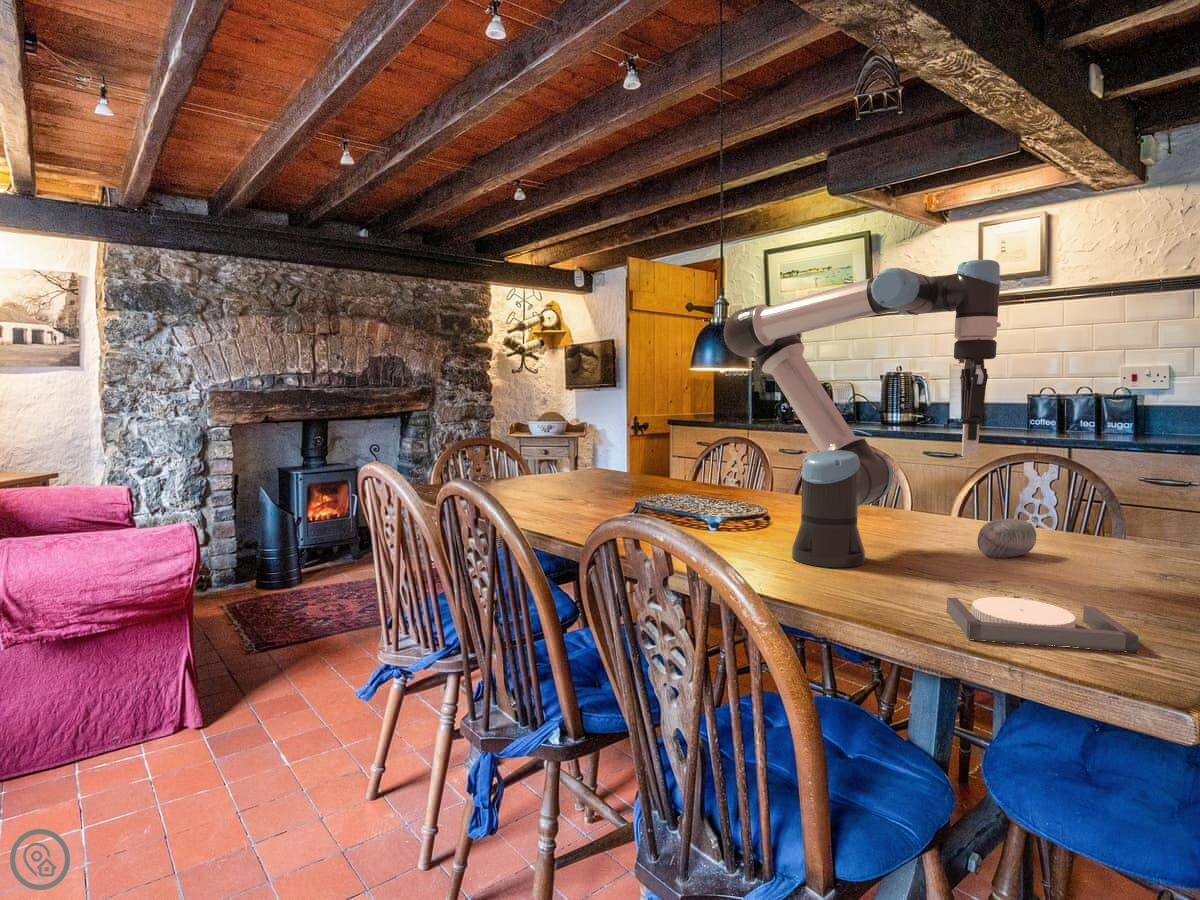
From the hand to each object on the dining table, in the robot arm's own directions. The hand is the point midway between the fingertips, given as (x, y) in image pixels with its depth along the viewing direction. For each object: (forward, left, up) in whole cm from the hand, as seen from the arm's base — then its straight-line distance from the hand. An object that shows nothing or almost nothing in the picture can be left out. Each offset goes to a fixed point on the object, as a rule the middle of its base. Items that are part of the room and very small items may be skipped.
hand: (969, 456), depth 142 cm
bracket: (0, -39, -23) cm, 45 cm away
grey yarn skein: (+12, +14, -24) cm, 30 cm away
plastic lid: (-1, -35, -24) cm, 43 cm away
